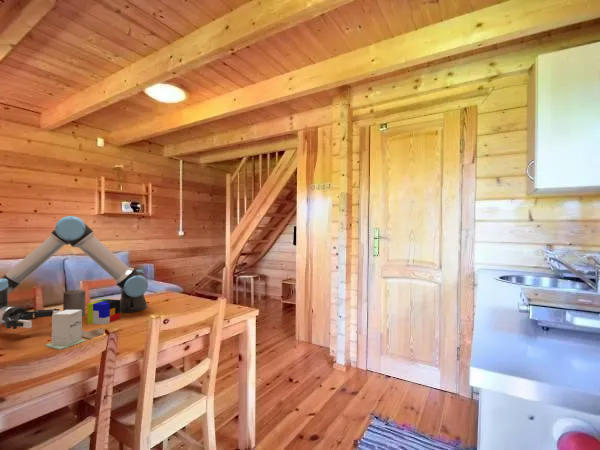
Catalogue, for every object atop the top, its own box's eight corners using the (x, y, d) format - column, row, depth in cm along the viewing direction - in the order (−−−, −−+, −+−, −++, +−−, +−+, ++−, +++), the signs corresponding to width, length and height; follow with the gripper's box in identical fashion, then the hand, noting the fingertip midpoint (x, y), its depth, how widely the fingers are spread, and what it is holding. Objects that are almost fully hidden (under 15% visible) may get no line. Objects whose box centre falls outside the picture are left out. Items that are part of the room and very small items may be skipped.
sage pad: (72, 337, 132) (72, 336, 132) (86, 341, 128) (86, 340, 128) (45, 346, 123) (45, 344, 123) (59, 350, 119) (59, 348, 119)
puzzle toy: (104, 324, 150) (104, 304, 150) (87, 323, 152) (87, 303, 152) (120, 318, 160) (120, 299, 160) (104, 317, 162) (104, 298, 162)
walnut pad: (100, 329, 143) (100, 328, 143) (114, 332, 139) (114, 331, 139) (77, 336, 134) (77, 335, 134) (91, 339, 130) (91, 338, 130)
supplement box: (69, 345, 122) (69, 314, 122) (51, 345, 122) (51, 314, 122) (82, 338, 129) (82, 309, 130) (65, 338, 130) (65, 309, 130)
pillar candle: (58, 318, 161) (59, 290, 161) (78, 313, 170) (78, 286, 170) (70, 320, 157) (70, 291, 157) (89, 315, 166) (89, 288, 166)
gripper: (42, 316, 145) (77, 319, 140) (-25, 334, 121) (14, 338, 116) (42, 300, 145) (76, 303, 140) (-25, 315, 121) (14, 319, 116)
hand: (48, 319), depth 128 cm, fingers open, 13 cm apart
